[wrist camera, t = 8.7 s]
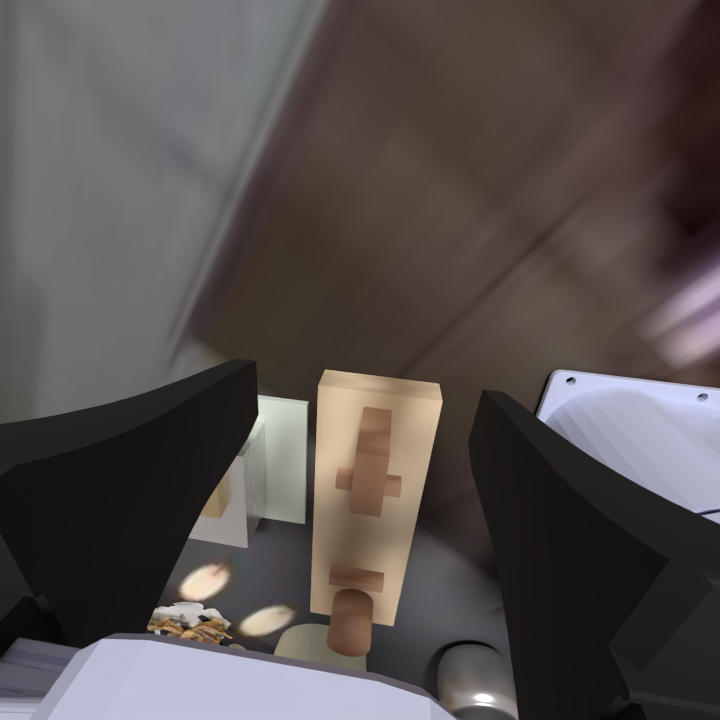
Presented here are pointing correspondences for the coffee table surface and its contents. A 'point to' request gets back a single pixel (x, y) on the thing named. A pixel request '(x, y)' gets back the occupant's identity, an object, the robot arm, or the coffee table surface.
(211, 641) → the frog figurine
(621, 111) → the coffee table surface
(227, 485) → the brass-inlaid steel block
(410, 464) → the hand plane
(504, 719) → the plastic bottle
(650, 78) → the coffee table surface
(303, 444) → the felt pad
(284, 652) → the reusable coffee cup
